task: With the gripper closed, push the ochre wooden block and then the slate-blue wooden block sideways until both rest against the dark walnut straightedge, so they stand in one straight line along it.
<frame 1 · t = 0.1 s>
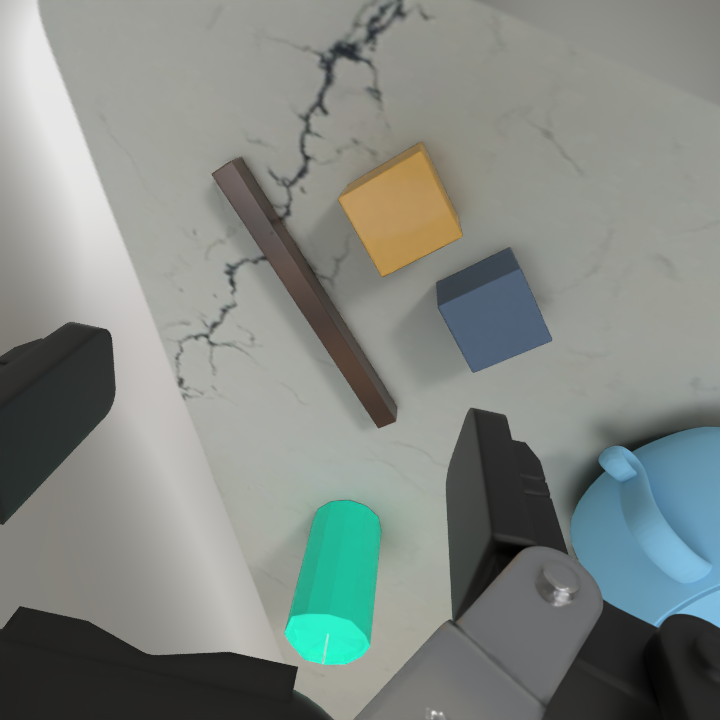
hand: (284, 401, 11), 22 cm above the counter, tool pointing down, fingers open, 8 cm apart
decorative pot: (672, 491, 39), on the counter
slate block: (487, 298, 33), on the counter
straightedge: (318, 300, 34), on the counter
candle: (347, 523, 45), on the counter
ochre block: (403, 202, 31), on the counter
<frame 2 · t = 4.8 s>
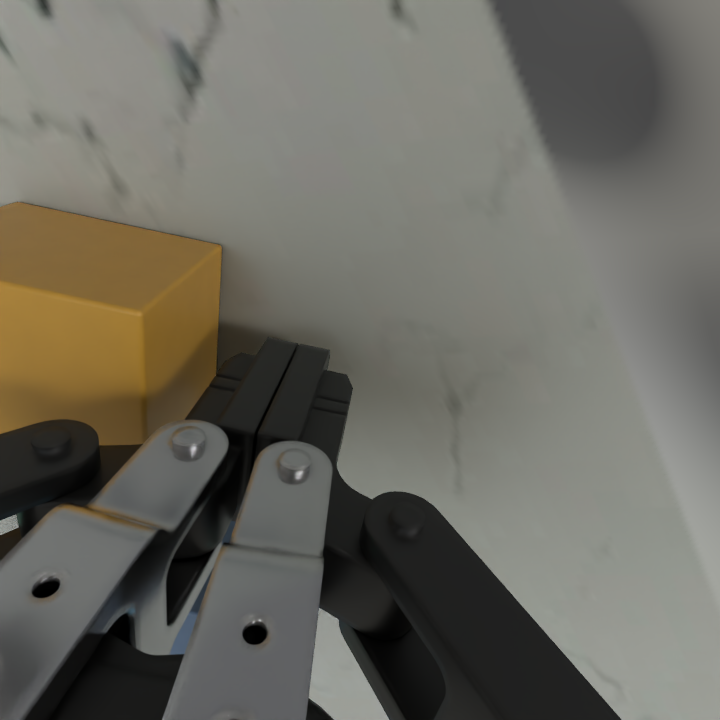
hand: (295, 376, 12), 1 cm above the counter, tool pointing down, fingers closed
slate block: (200, 542, 17), on the counter
ochre block: (124, 316, 13), on the counter, touching gripper
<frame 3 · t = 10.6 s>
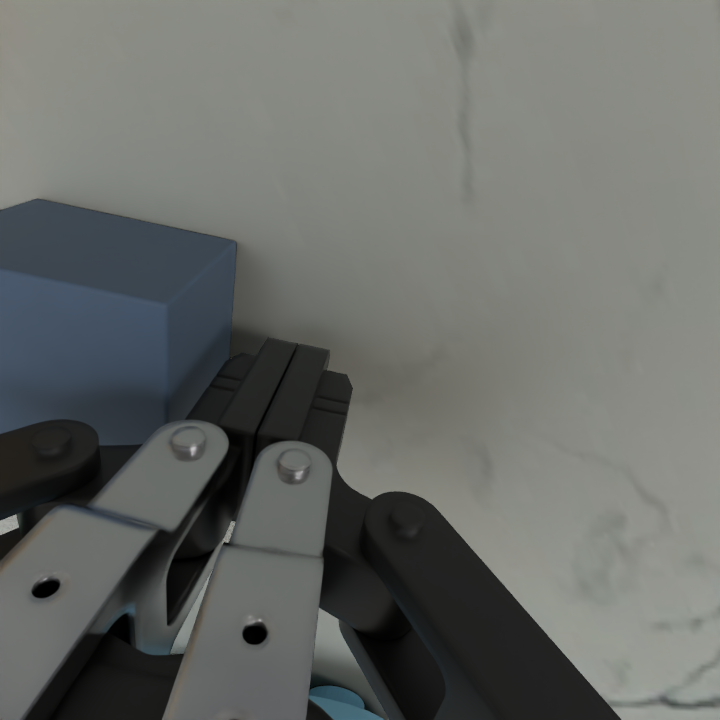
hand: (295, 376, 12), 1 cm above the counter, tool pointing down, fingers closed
slate block: (140, 311, 14), on the counter, touching gripper
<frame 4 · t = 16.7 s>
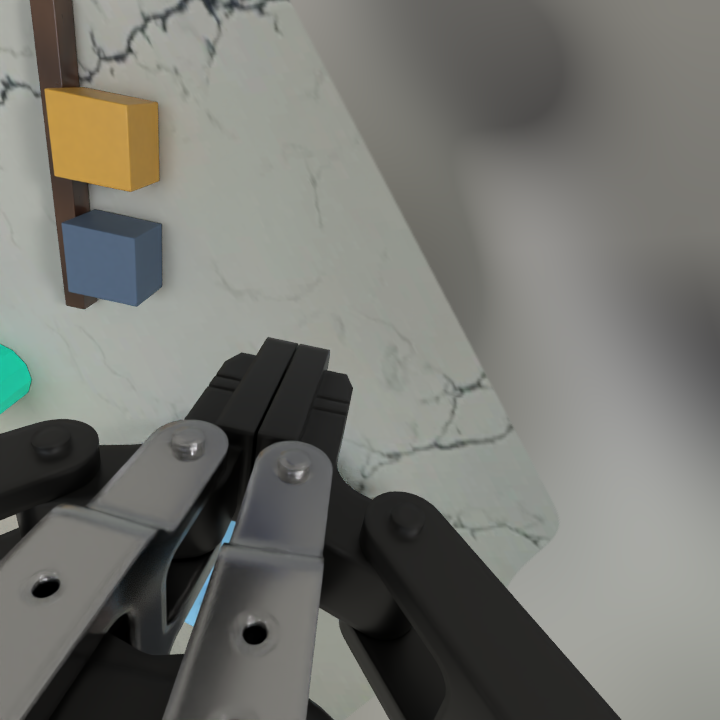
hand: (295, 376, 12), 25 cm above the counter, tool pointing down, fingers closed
decorative pot: (267, 486, 49), on the counter
slate block: (129, 249, 38), on the counter
straightedge: (76, 168, 36), on the counter
candle: (0, 369, 45), on the counter
ochre block: (123, 135, 34), on the counter
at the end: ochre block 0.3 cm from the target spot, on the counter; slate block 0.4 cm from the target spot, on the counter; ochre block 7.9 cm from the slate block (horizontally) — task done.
